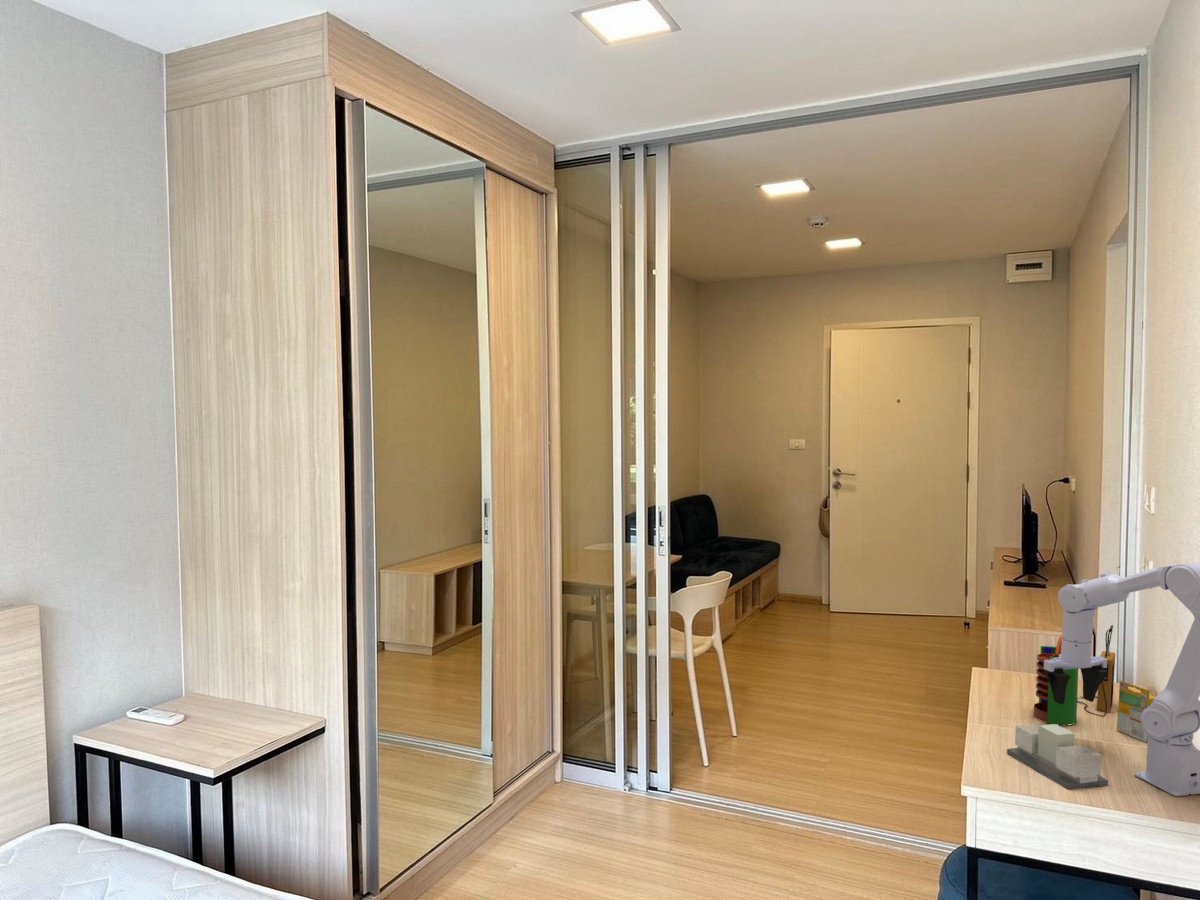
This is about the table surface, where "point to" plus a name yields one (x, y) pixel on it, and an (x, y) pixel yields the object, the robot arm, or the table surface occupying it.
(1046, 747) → the block
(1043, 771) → the rail board
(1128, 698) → the crayon box
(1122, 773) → the table surface
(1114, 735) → the table surface
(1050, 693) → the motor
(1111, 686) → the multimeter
